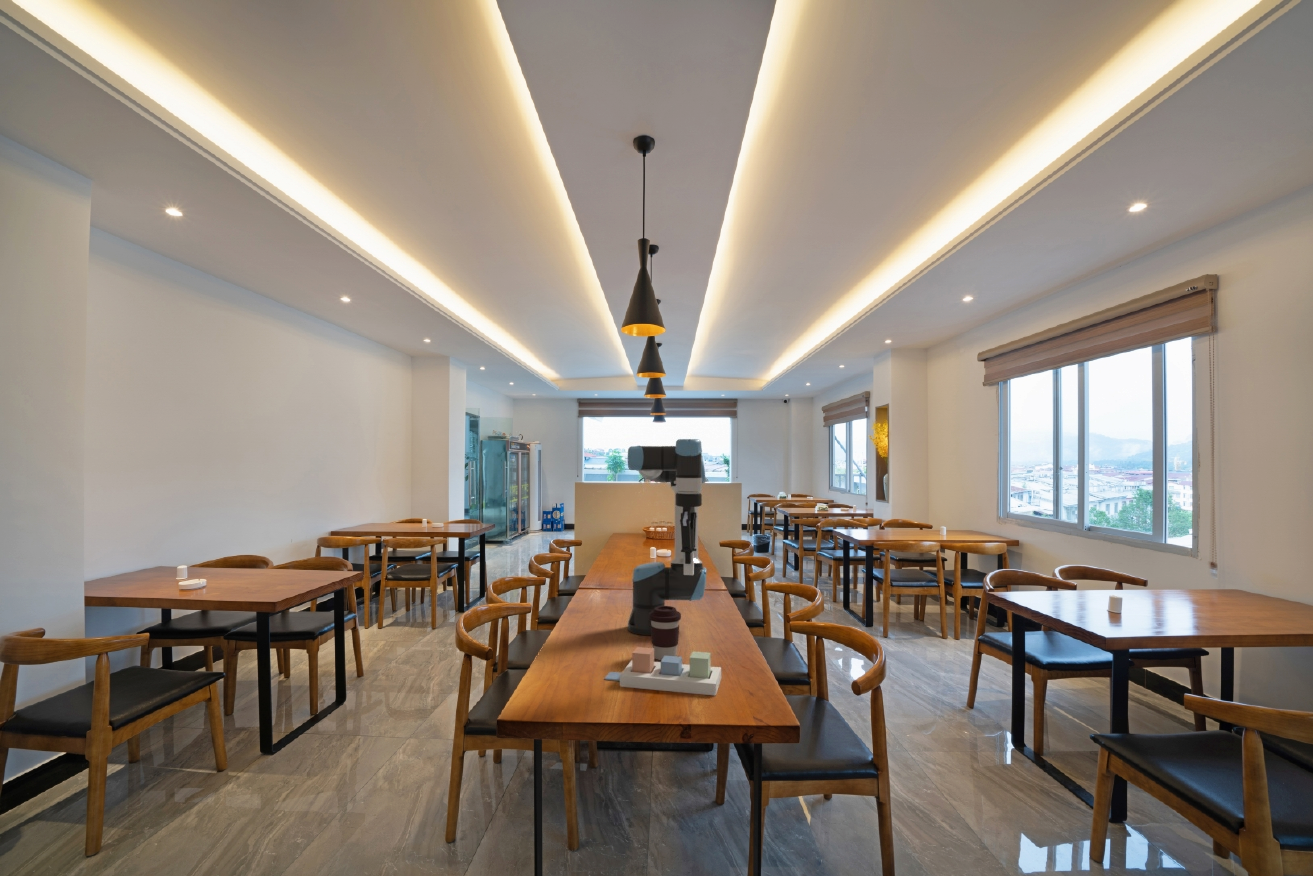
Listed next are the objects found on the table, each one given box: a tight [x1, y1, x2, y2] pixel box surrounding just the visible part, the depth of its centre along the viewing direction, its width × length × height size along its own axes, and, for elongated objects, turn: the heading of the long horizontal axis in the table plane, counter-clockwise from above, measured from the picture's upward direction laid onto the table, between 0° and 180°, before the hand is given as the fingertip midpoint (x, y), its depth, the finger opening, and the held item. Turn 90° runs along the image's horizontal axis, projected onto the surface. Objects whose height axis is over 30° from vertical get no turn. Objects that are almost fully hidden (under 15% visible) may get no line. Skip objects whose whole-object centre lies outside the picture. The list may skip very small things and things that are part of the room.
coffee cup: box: [649, 605, 682, 661], centre depth 175 cm, size 10×10×15 cm
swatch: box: [604, 671, 622, 682], centre depth 158 cm, size 5×5×1 cm
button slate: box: [660, 656, 683, 676], centre depth 155 cm, size 5×5×5 cm
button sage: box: [689, 651, 712, 679], centre depth 153 cm, size 5×5×5 cm
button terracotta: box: [631, 646, 655, 673], centre depth 157 cm, size 5×5×5 cm
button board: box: [619, 659, 722, 697], centre depth 155 cm, size 12×26×3 cm, turn 77°
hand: (688, 574), depth 162 cm, fingers closed
